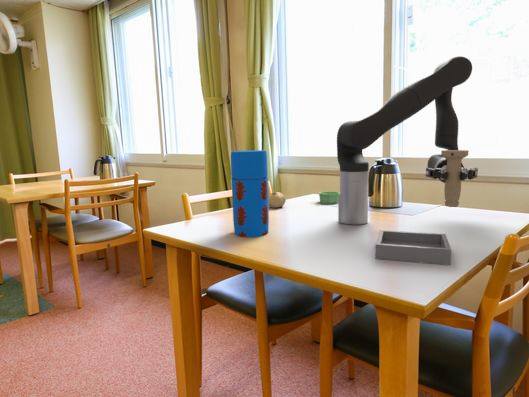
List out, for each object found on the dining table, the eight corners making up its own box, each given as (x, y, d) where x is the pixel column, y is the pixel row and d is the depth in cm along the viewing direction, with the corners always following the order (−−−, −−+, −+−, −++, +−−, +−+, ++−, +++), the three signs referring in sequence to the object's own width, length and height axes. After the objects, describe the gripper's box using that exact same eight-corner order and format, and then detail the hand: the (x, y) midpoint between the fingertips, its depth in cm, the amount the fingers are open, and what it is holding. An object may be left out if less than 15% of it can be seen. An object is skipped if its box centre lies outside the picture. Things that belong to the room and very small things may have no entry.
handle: (462, 209, 99) (466, 151, 96) (436, 206, 103) (439, 151, 100) (466, 206, 102) (470, 150, 100) (441, 203, 106) (444, 150, 104)
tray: (375, 258, 89) (375, 244, 89) (379, 242, 102) (379, 230, 102) (450, 265, 84) (451, 249, 83) (444, 247, 97) (445, 234, 96)
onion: (264, 206, 159) (264, 189, 158) (282, 205, 161) (282, 188, 160) (269, 210, 152) (268, 192, 151) (288, 208, 154) (287, 191, 152)
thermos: (256, 239, 109) (253, 152, 105) (226, 234, 115) (223, 152, 111) (275, 230, 118) (273, 150, 114) (247, 227, 124) (244, 150, 120)
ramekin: (342, 201, 166) (342, 191, 165) (335, 205, 158) (335, 194, 158) (323, 200, 171) (323, 190, 170) (315, 203, 163) (315, 193, 162)
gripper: (423, 157, 116) (425, 161, 100) (476, 157, 111) (486, 161, 95) (422, 181, 117) (424, 189, 102) (474, 182, 112) (484, 191, 97)
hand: (454, 176), depth 99 cm, fingers closed on handle, 3 cm apart
